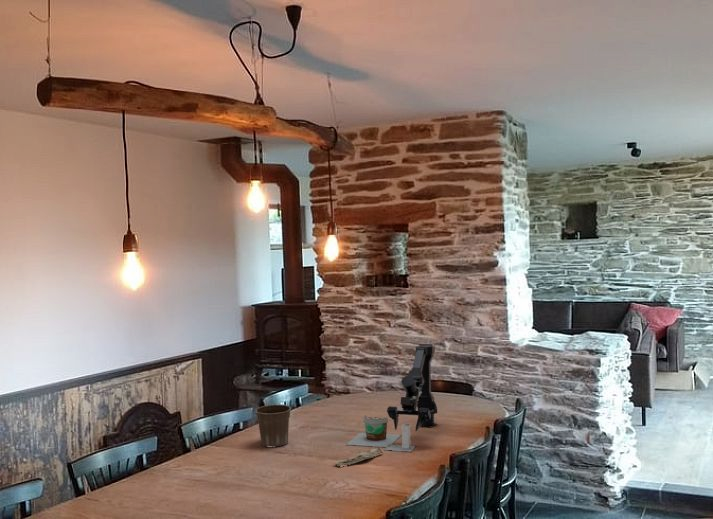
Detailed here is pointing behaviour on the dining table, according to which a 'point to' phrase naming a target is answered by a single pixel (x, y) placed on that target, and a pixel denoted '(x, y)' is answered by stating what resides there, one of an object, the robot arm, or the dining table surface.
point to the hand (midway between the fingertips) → (405, 430)
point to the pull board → (386, 440)
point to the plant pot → (273, 424)
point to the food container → (375, 428)
